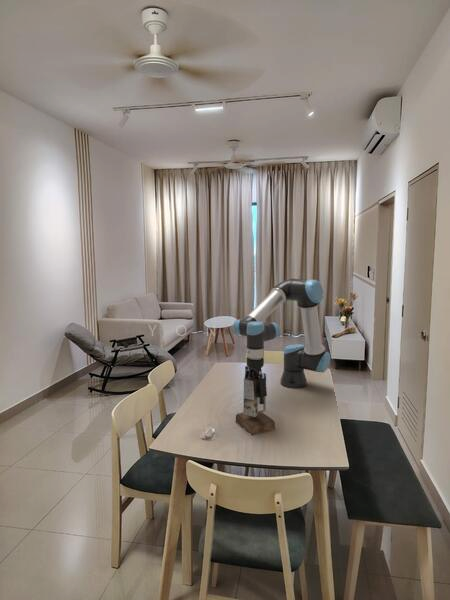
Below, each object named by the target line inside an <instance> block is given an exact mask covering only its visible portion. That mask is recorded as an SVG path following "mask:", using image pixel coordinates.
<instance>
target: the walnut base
mask: <svg viewBox="0 0 450 600" xmlns="http://www.w3.org/2000/svg"><path fill="white" fill-rule="evenodd" d="M235 423H236V424H237V425H239V426H240V427H241V428H242V429H243V428H244V429H245V430H244V429H243V430H244V431H245V432H247V433H248V434H249V433H250V434H251V435H250V434H249V435H250V436H252V435H257V434H261V433H264V432H269V431H272V430H275V429H276V424H275V423H276V421H274V419H272V418H271V417H270V416H268V415H267V414H265V413H264V412H262V413H261V414H259V415H258V416H256V417H253V416H249V415H246V414H243V412H239V413H236V414H235Z"/></svg>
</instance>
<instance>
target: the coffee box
mask: <svg viewBox="0 0 450 600" xmlns="http://www.w3.org/2000/svg"><path fill="white" fill-rule="evenodd" d="M258 379H259V378H258ZM265 379H266V380H267V377H266V378H265ZM258 383H259V380H254V378H253V377H247V378H245V377H244V378H243V407H242V408H243V409H242V411H243V412H242V413H243V414H246V415H249V416H253V417H256V416H258V415H259V414H261V413H264V412H265V411H266V406H267V401H266V400H267V396H265V397H264V404H263V410H262V411H257V396H258Z"/></svg>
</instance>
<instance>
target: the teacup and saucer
mask: <svg viewBox="0 0 450 600" xmlns="http://www.w3.org/2000/svg"><path fill="white" fill-rule="evenodd" d="M204 432H205V433H206V434H205V436H207V437H206V438H208V437H210V438H212V437H211V436H213V435H214V434H213V433H214V432H215V433H216V430H215V428H213V427H212V426H206V427H205V428H204Z"/></svg>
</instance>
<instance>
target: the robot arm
mask: <svg viewBox="0 0 450 600" xmlns="http://www.w3.org/2000/svg"><path fill="white" fill-rule="evenodd" d="M323 298H324V290H323V286H322V284H321V282H320V281H318V280H317V279H311V278H309V279H304V278H289V279H285V280H283V281H281V282H279V283H278V284H276V285H275V286H274V287H273V288H272V289H270V292H269V294H268V295H267V296H266V297H265V298H264V299H262V301H261V302H260V303H259V304H258V305H256V306H255V308H254V309H252V310H251V312H249V313H248V314H247V315H246V316H244V318H242V319H235V321H234V322H233V325H232V330H233V331H232V332H233V333H234V335H237V336H240V337H246V366H244V378H247V377H253V378H254V380H259V383H258V396H257V411H262V410H263V404H264V397H265V396H266V397H267V396H268V392H267V391H268V390H267V374H266V373H264V372H263V371H262V369H263V367H264V364H265V362H264V361H265V358H264V357H265V342H267V341H271V340H274V339H277V338H278V337H279V335H280V334H281V328H280V326H279V324H278V323H276V322H274V321H273V322H264V321H265V320H266V319H267V318H269V316H270V315H271V314H272V313H273V312H274V311H275V310H276V309H277V308H278V306H280V305H282V304H285V303H286V301H295V302H296V303H297V307H298V308H300V313H301V318H302V326H303V327H302V328H303V335H304V341H305V342H304V343H305V345H304V344H301V343H300V344H299V343H295V344H289V345H286V346H284V348H283V371H282V375H281V378H280V385H282V386H283V387H286V388H289V389H301V388H304V387H306V386H307V385H308V384H307V382H308V381H307V377H306V374H305V370H306V371H307V370H308V371H311V372H316V373H325V372H326V371H327V370H328V368H329V366H330V362H331V354H330V352H328V351H326V347H325V346H324V345H323V344H322V343H323V342H322V337H321V336H322V335H321V325H320V318H319V310H318V306H319V305H320V303H321V302H322V300H323ZM258 378H259V379H258ZM265 378H266V379H265Z"/></svg>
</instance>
